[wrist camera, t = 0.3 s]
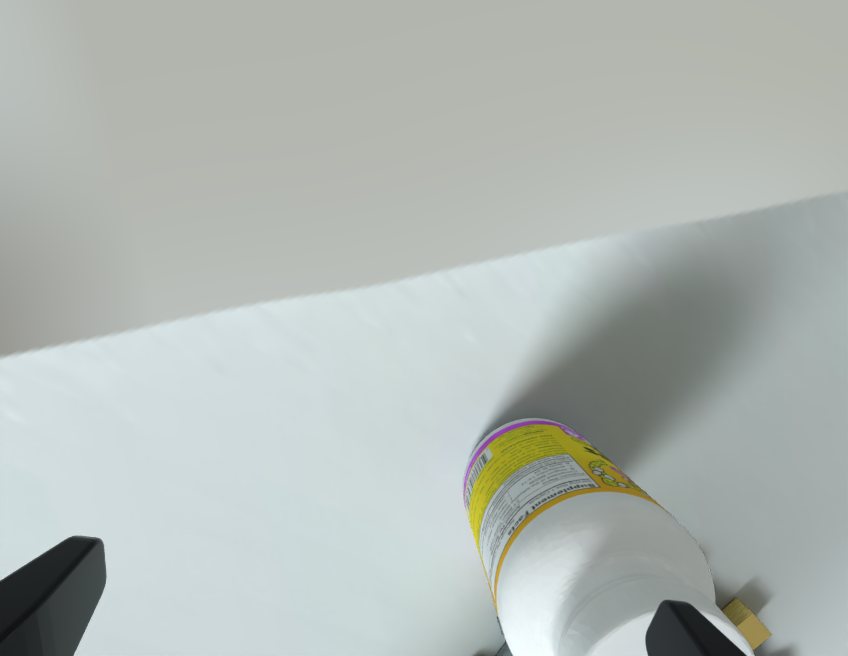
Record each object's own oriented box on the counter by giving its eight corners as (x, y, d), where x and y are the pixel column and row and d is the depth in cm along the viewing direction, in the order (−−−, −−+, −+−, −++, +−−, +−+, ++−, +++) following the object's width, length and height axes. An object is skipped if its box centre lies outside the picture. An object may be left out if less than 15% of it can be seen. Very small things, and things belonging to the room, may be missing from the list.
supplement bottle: (615, 511, 26) (837, 755, 13) (492, 566, 26) (592, 867, 13) (565, 389, 25) (751, 523, 12) (437, 447, 25) (487, 643, 12)
